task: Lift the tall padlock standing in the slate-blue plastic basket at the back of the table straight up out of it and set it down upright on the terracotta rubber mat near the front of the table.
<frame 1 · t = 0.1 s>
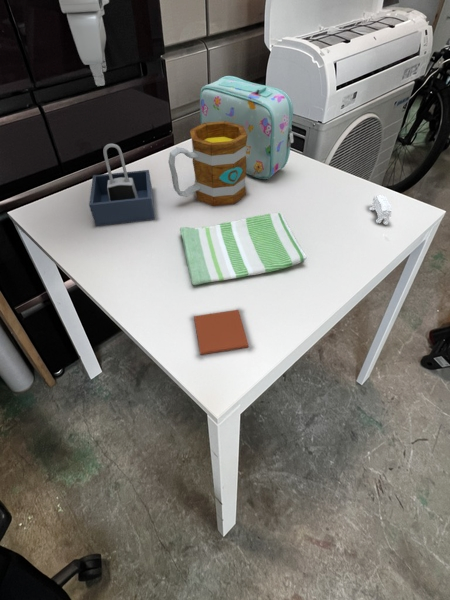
hand: (101, 77, 77), 26 cm above the table, tool pointing down, fingers open, 8 cm apart
lunch box: (245, 165, 105), on the table
mat: (220, 332, 64), on the table
padlock: (125, 205, 91), resting on basket
dish towel: (240, 251, 79), on the table
mug: (209, 196, 94), on the table
figurine: (377, 216, 87), on the table
basket: (125, 207, 91), on the table
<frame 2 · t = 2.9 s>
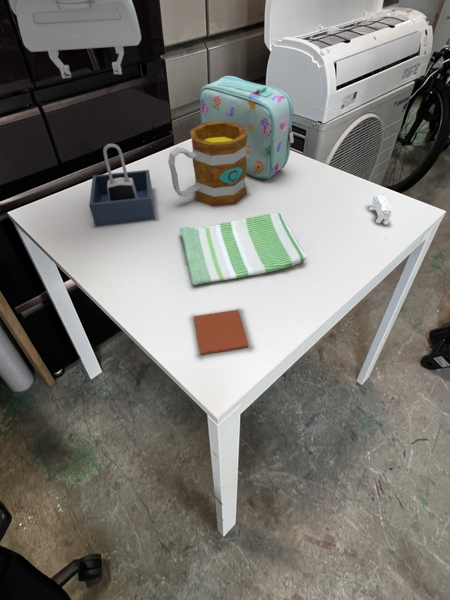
hand: (92, 75, 70), 29 cm above the table, tool pointing down, fingers open, 8 cm apart
nothing on the table moved.
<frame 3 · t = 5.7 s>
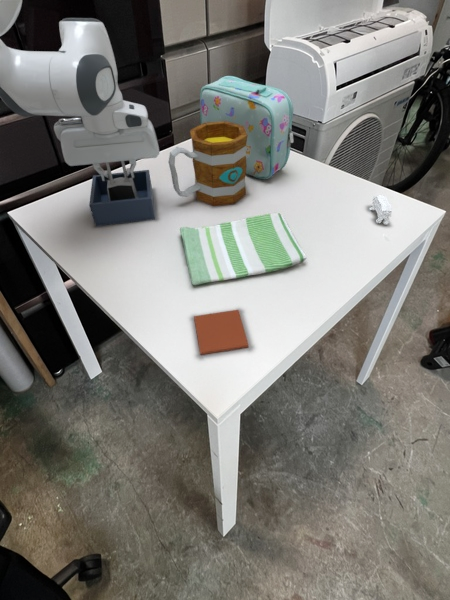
hand: (118, 178, 85), 8 cm above the table, tool pointing down, fingers closed on padlock, 4 cm apart
padlock: (125, 205, 91), resting on basket, touching gripper
everything else where it was.
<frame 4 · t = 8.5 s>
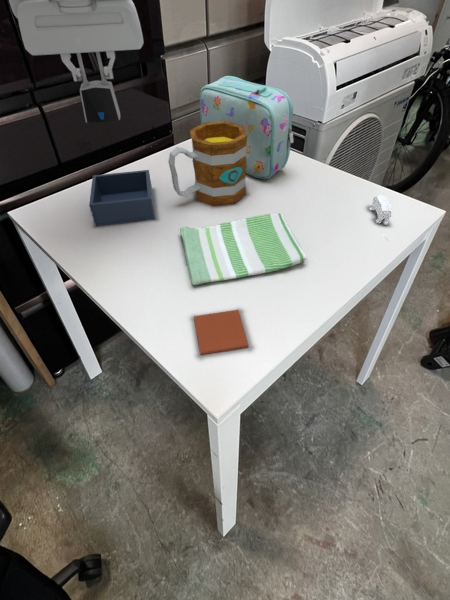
hand: (94, 79, 70), 28 cm above the table, tool pointing down, fingers closed on padlock, 4 cm apart
padlock: (103, 119, 75), point 21 cm above the table, touching gripper
everything else where it was.
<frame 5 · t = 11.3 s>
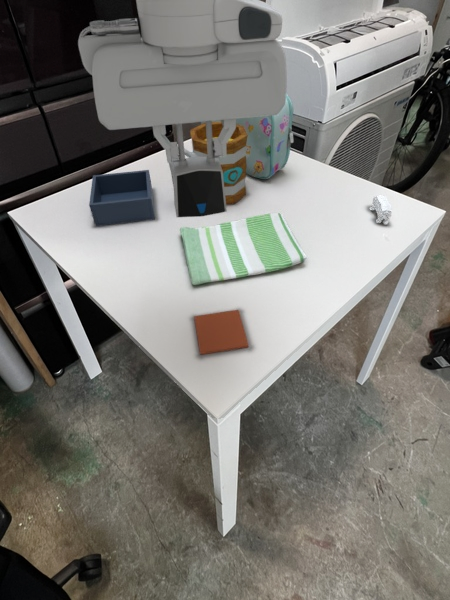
hand: (196, 157, 45), 29 cm above the table, tool pointing down, fingers closed on padlock, 4 cm apart
padlock: (200, 208, 50), point 22 cm above the table, touching gripper
everything else where it was.
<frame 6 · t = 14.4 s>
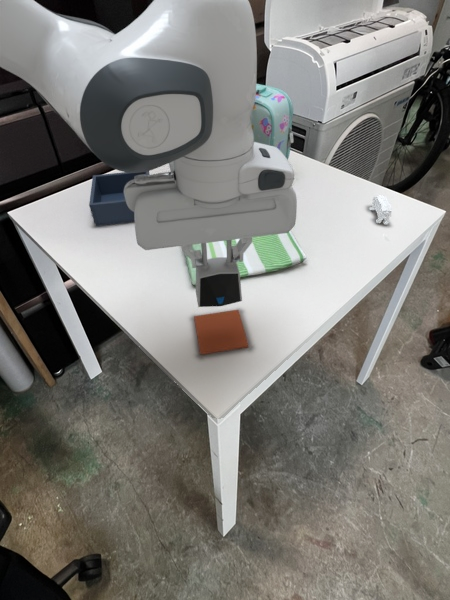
hand: (217, 261, 52), 16 cm above the table, tool pointing down, fingers closed on padlock, 4 cm apart
padlock: (218, 297, 57), point 9 cm above the table, touching gripper
everything else where it was.
when the fingers open (7 cm above the table, at t = 16.8 s): padlock stays where it is, resting on mat.
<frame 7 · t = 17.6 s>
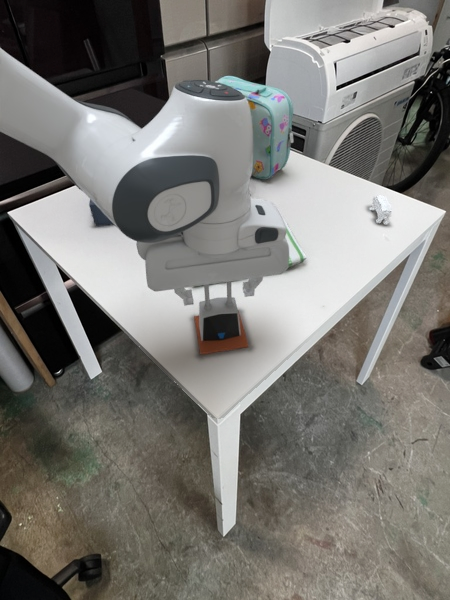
hand: (218, 297, 58), 8 cm above the table, tool pointing down, fingers open, 8 cm apart
padlock: (219, 331, 63), resting on mat
everything else where it was.
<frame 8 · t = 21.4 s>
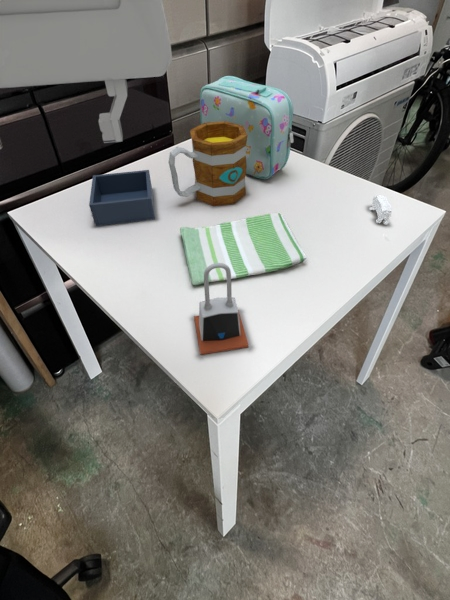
hand: (53, 145, 30), 37 cm above the table, tool pointing down, fingers open, 8 cm apart
nothing on the table moved.
at the end: padlock inside the target area on the mat (0.1 cm from its centre), point 0.4 cm above the mat's base; padlock tilted 0°; the gripper is holding nothing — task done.
